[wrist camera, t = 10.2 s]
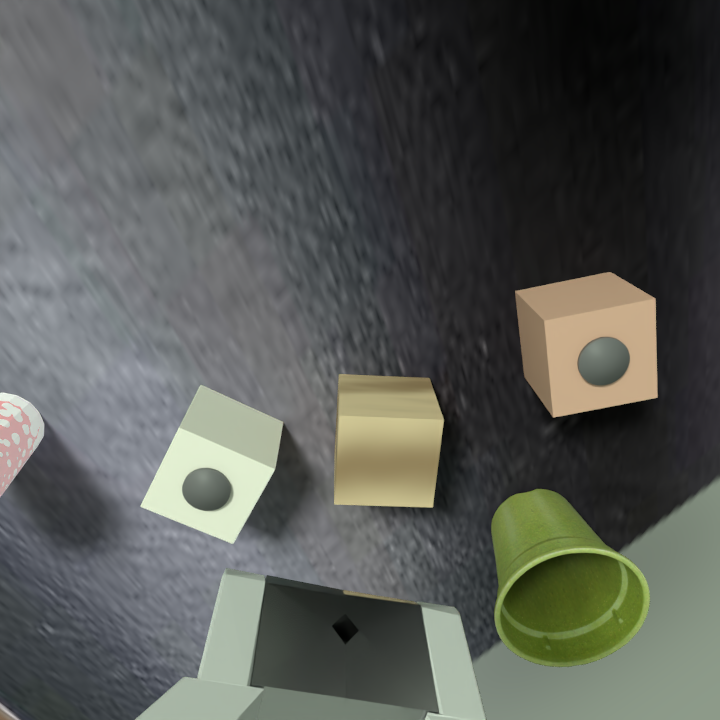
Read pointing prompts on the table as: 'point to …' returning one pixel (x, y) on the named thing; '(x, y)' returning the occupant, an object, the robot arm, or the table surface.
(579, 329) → the dot block tan
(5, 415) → the beverage cup
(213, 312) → the table surface
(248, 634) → the robot arm
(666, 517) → the table surface
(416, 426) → the oak block
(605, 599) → the plant pot
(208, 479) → the dot block cream
